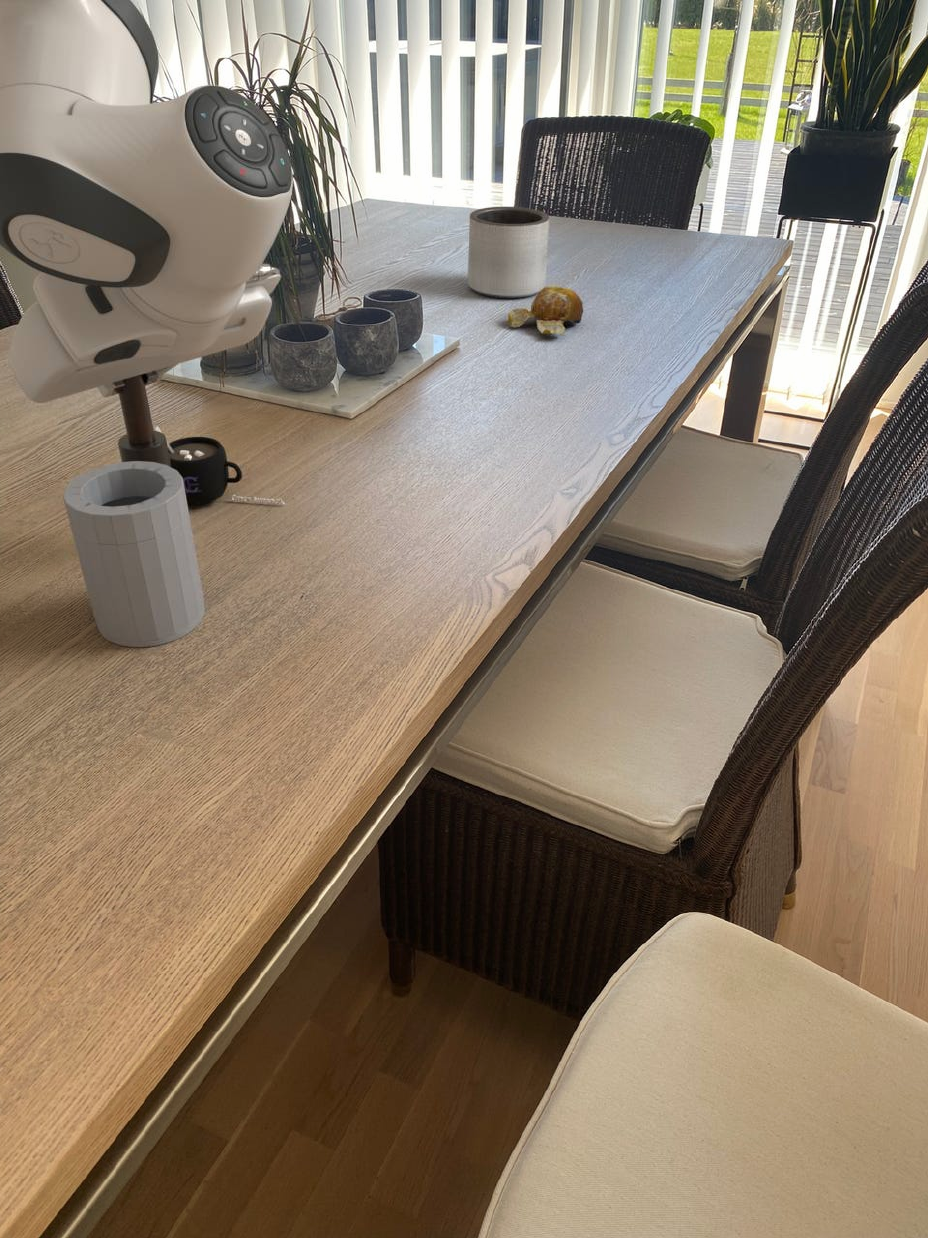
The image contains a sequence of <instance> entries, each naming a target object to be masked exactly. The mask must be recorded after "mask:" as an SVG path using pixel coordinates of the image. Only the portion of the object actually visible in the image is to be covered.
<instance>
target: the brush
mask: <svg viewBox="0 0 928 1238" xmlns="http://www.w3.org/2000/svg"><path fill="white" fill-rule="evenodd" d="M123 382H124V383H125V386H124V388H123V389H122V392H121V393H119V394H118V397H119V403H120V407H121V412H122V416H123V421H124V426H125V431H126V434H124V435H122V436H120V438H119V439H118V441H117V446H118V449H119V455H120V460H121V462H131V461H144V462H155V463H159V464H164V465H167V466H169V467H171V462H170V457H169V451H168V446H167V441H168V440H167V437H166V435H165V434H164V433H163V432H162V431H161V432H162V433H161V432H158V431H156V430H155V429H154V425H153V420H152V415H151V410H150V405H149V399H148V394H147V388H146V385H145V383H144V378H143V374H141V375H138V376H134V377H131V378H128V379H124V380H123ZM166 440H167V441H166Z"/></svg>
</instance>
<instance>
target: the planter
mask: <svg viewBox="0 0 928 1238" xmlns="http://www.w3.org/2000/svg"><path fill="white" fill-rule="evenodd" d="M468 226H469V227H468V228H469V230H468V231H469V232H468V234H469V235H468V257H467V260H468V262H467V285H468V287H469V288H471V289H472V290H473V291H474V292H476V293H478V294H480V295H483V296H486V297H491V298H497V299H520V298H521V299H522V298H527V297H531V296H535V295H538V293H539V292H540V291H541V290H542V289H543V288H545V287H546V283H547V269H548V268H547V267H548V246H549V230H550V216H549V214H547V213H545V212H543V211H541V210H538V209H534V208H529V207H522V206H492V207H491V206H489V207H483V208H479V209H476V210H473V211H471V212H470V214H469V225H468Z"/></svg>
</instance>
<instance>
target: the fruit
mask: <svg viewBox="0 0 928 1238" xmlns="http://www.w3.org/2000/svg"><path fill="white" fill-rule="evenodd" d="M583 305H584V304H583V301H582V299H581V297H580V296H579V294H577V292H576V291H574V290H573V289H570V288H566V287H562V286H545V287H544V288H543V289H542V290H541V291H540V292H538V293H537V294H536V296H535V297H534V299H533V301H532V302H531V305H530V310H528V309H527V308H522V307H518V308H514V309H512V310H510V311H509V312H508V313H507V314H508V324H509V326H510V327H511V328H520V326H522V325H525V322H526V321H527V320H528V319H529V318H531V317H532V318H534V319H535V320H536V328H537V330H539V333H540V334H545V335H552V336H554V335H563V334H564V333H566V328H565V326H564V322H566V321H571V322H573V323H575V324H580V323H581V321H582V317H583V314H584V307H583Z"/></svg>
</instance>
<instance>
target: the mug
mask: <svg viewBox="0 0 928 1238" xmlns="http://www.w3.org/2000/svg"><path fill="white" fill-rule="evenodd" d="M154 431H158V432H161V433H163V432H162V430H161V429H160V427H159V425H156V426H155V427H154ZM166 441H167V446H168V451H169V457H170V462H171V468H173V469H175V470H177V471H178V473H179V474H180V475H181V476H182V478H183V482H184V488H185V494H186V500H187V505H206V504H209V503H212V502H214V501H216V500H219V498H221V497H222V496H223V495H224V493H225V492H226V490H227V487H228V484H236V483H239V482H240V481H241V480H242V478H243V473H242V470H241V468H240V466H239V465H238V464H237V463H235V462H232V461H229V460H228V458H227V452H226V449H225V447H224V446H223V444H222V443H221V442H220V441H219V440H217V439H214V438H213V437H212V438H211V437H207V436H188V437H187V436H186V437H183V438H178V439H176V440H174V441H173V440H172V441H171V442H169V441H168V439H166ZM229 468H232V469H234V471H235V472H236V476H235V477H230V472H229V471H230V470H229ZM234 497H235V498H234ZM230 498H231V500H232V501H237V502H238V501H239V502H248V503H251V501H252V499H253V503H262V505H264V504H275V505H280V504H281V505H285V502H284V499H282V497H281V498H278V499H274V498H265V497H264V498H261V497H260V498H259V497H257V496H253V498H252V499H251V497H248V496H244V497H243V496H237V494H232V495H231V497H230Z"/></svg>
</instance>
